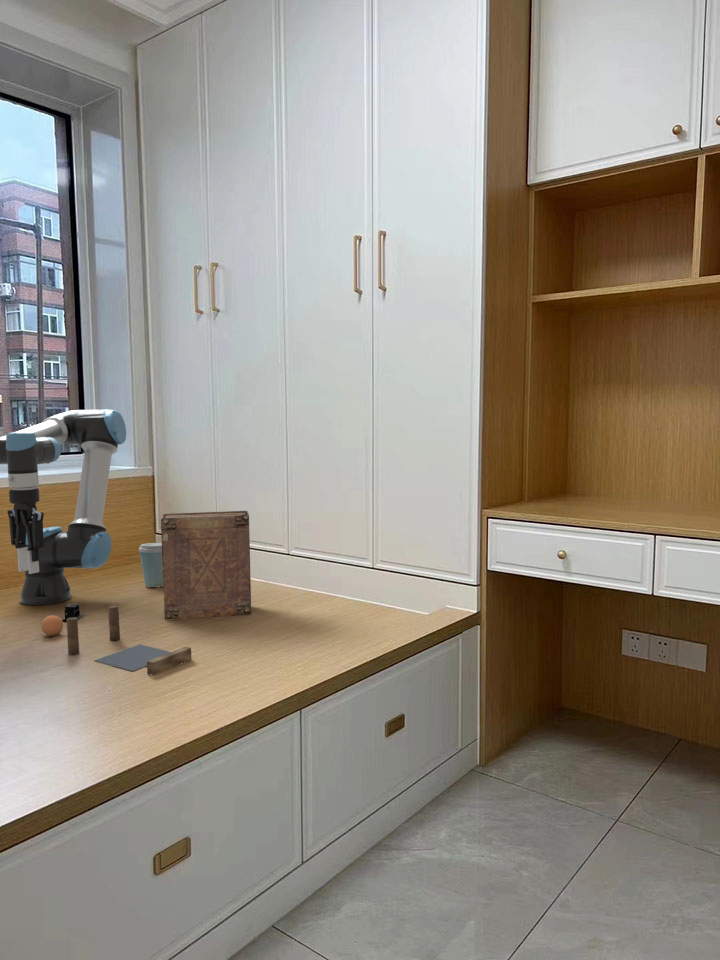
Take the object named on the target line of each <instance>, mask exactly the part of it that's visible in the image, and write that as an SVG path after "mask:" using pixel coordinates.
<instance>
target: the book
mask: <svg viewBox="0 0 720 960" xmlns="http://www.w3.org/2000/svg"><path fill="white" fill-rule="evenodd" d="M162 516H163V517H162V518H161V519H160V532H161V535H160V536H161V543H162V562H163V586H162V587H163V608H164V609H163V611H164V620H166V619H172V620H181V618H187V619H197V618H196V617H202V618H211V617H210V616H216V617H228V616H227V615H231V616H239V615H240V616H242V614H245V615H252V594H251V592H252V591H251V590H252V589H251V588H252V585H251V553H250V552H251V547H250V546H251V545H250V538H251V537H250V514H249V511H247V510H238V511H237V510H235V511H234V510H232V511H231V510H229V511H206V512H205V511H203V512H179V513H178V512H177V513H174V512H173V513H164V514H163V515H162ZM166 621H167V620H166Z"/></svg>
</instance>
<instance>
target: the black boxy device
mask: <svg viewBox="0 0 720 960" xmlns="http://www.w3.org/2000/svg"><path fill="white" fill-rule="evenodd" d="M80 609H81V607H80V603H68V604H66V605H65V606H64V618H65V619H64V618H63V619H61V620H62V621H63V623H67V620H66V619H68V618H73V617H75V618H78V621H79V620H80V619H82V618H83V617H85V616H86V614H85V613H81V610H80Z"/></svg>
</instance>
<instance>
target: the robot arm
mask: <svg viewBox="0 0 720 960" xmlns="http://www.w3.org/2000/svg"><path fill="white" fill-rule="evenodd" d="M126 426H127V425H126V423H125V420H124V417H123V415H122V413H120V412H119V411H118V410H116V409H106V408H105V409H73V410H68V411H65V412H61V413H58V414H54V415H52V416H49V417H46V418H44V419H43V420H42V421H41V423H37V424H35V425H32V426H30V427H26V428H24V429H21V430H18V431H14V432H12V431H11V432H8V433H7V434H5V435H1V436H0V465H7V480H8V487H9V488H10V490H9V491H8V496H9V497H8V498H9V499H8V500H9V503H10V504H12V505H13V509H9V510H7V516H8V521H9V533H10V544H11V546H14V547H15V549H16V555H17V556H16V557H17V569H18V572H19V573H21V572H24V582H23V585H22V589H21V592H20V596H19V597H20V603H21V604H24V605H27V606H43V605H44V606H45V605H52V604H58V603H61V602H64V601H67V600H69V599H71V598H72V590H71V587H70V585H69V583H68V580H67V577H66V575H65V569H86V570H88V569H98V568H100V567H103V565H104V564H106V562H107V560H108V558H109V557H110V554H111V551H112V538H111V535H110V533H108V531H107V527H106V526H105V525H104V523H103V520H104V519H103V518H104V513H105V512H104V511H105V505H106V499H107V491H108V485H109V484H108V483H109V477H110V470H111V462H112V456H113V454H115V453H117V452H118V446H119V445H122V444H124V443H125V442H126V440H127V427H126ZM67 444H68V445H80V447H81V448H82V450H83V451H84V454H83V460H82V461H83V462H82V467H81V475H80V481H79V485H78V486H79V487H78V493H77V500H76V501H77V502H76V508H75V512H74V513H75V514H74V520H73V521H71V522H69V524H68V527H67V531H63V529H62V526H50V527H44V522H43V521H44V515H45V514H44V512H43V511H41V512H40V511H38V508H37V503H38V502H40V489H39V488H37V487H39V486H40V482H39V481H40V480H39V472H38V471H39V470H38V465H45V464H51V463H54V462H55V461H57V460H59V458H60V456H61V453H62V448H61V445H67Z"/></svg>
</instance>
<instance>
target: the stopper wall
mask: <svg viewBox="0 0 720 960" xmlns="http://www.w3.org/2000/svg"><path fill="white" fill-rule="evenodd" d="M169 652H170V653H167V654H165V655H162V656H159V657H157V658H154V659H151V660H149V661H147V666H146V668H147V669H146V670H147V673H148V674H147V675H150V674H152V675H151V676H155V675H157V673H158V674H160V673H162V671H163V672H164V670H165V671H168V670H169V668H170V669H172V668H171V667H173V668H175V667H177V665H178V666H180V665H182V664H181V663H183V664H185V663H188V662H189V661H188V660H190V661H192V660H191V659H192V648H191V647H189V646H183V647H180V648H178V649H175V650H173V651H169ZM187 661H188V662H187ZM184 662H185V663H184ZM179 664H180V665H179ZM174 666H175V667H174ZM167 669H168V670H167ZM154 674H155V675H154Z"/></svg>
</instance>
